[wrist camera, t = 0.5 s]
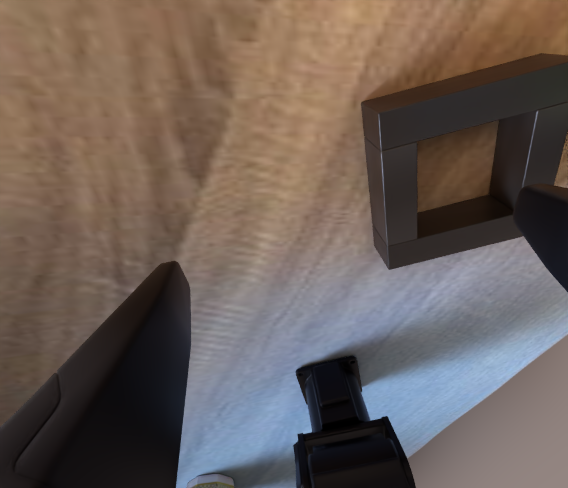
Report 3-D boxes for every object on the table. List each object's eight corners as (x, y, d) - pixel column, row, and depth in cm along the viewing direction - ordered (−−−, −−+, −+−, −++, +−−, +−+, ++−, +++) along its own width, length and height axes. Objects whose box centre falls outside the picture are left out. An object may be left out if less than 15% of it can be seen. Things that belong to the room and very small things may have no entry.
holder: (512, 211, 27) (542, 232, 24) (374, 246, 27) (388, 270, 24) (541, 52, 20) (587, 56, 18) (360, 101, 21) (378, 112, 18)
